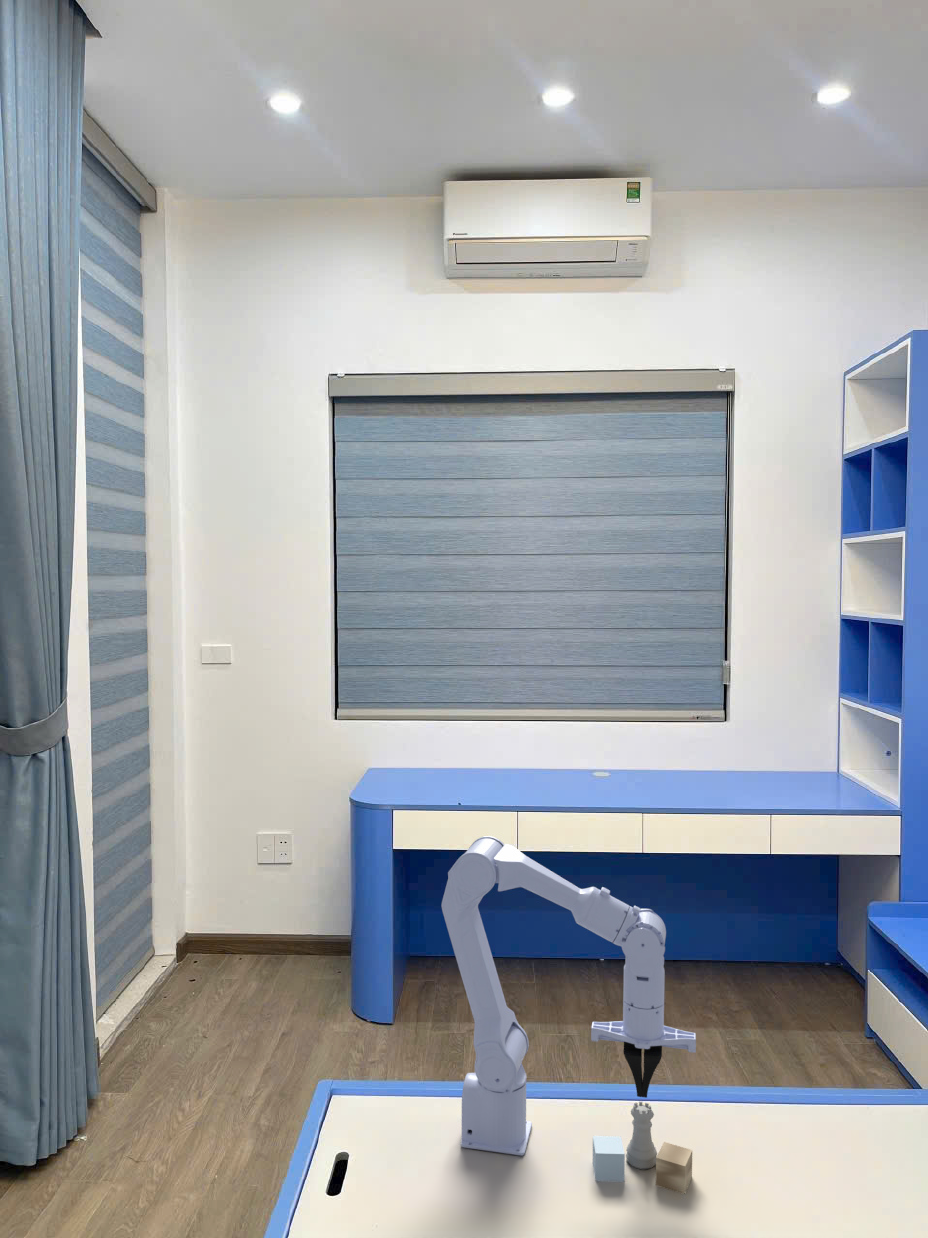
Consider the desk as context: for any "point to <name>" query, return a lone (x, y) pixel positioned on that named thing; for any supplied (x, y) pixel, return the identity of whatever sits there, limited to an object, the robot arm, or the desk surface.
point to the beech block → (674, 1167)
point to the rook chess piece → (641, 1138)
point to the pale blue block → (608, 1158)
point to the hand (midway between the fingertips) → (642, 1093)
